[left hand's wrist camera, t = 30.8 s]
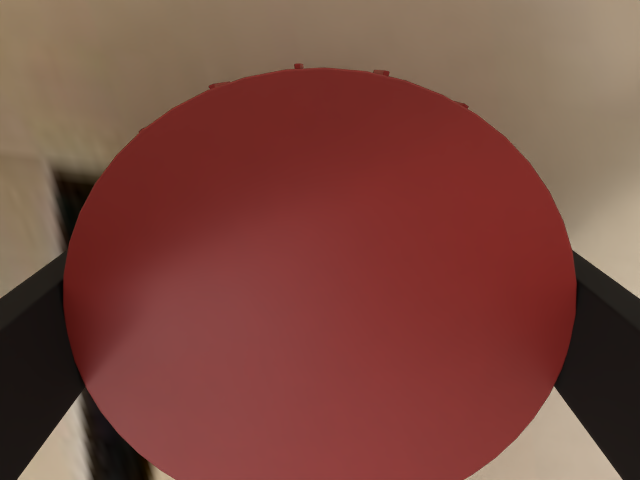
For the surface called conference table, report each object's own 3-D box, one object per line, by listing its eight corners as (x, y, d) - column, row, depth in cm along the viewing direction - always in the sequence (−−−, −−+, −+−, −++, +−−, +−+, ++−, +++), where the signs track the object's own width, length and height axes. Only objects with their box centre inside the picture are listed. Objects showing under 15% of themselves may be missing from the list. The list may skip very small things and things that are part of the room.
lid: (346, 505, 15) (351, 579, 13) (31, 319, 12) (-30, 372, 10) (621, 260, 12) (689, 303, 9) (275, -53, 9) (261, -90, 7)
